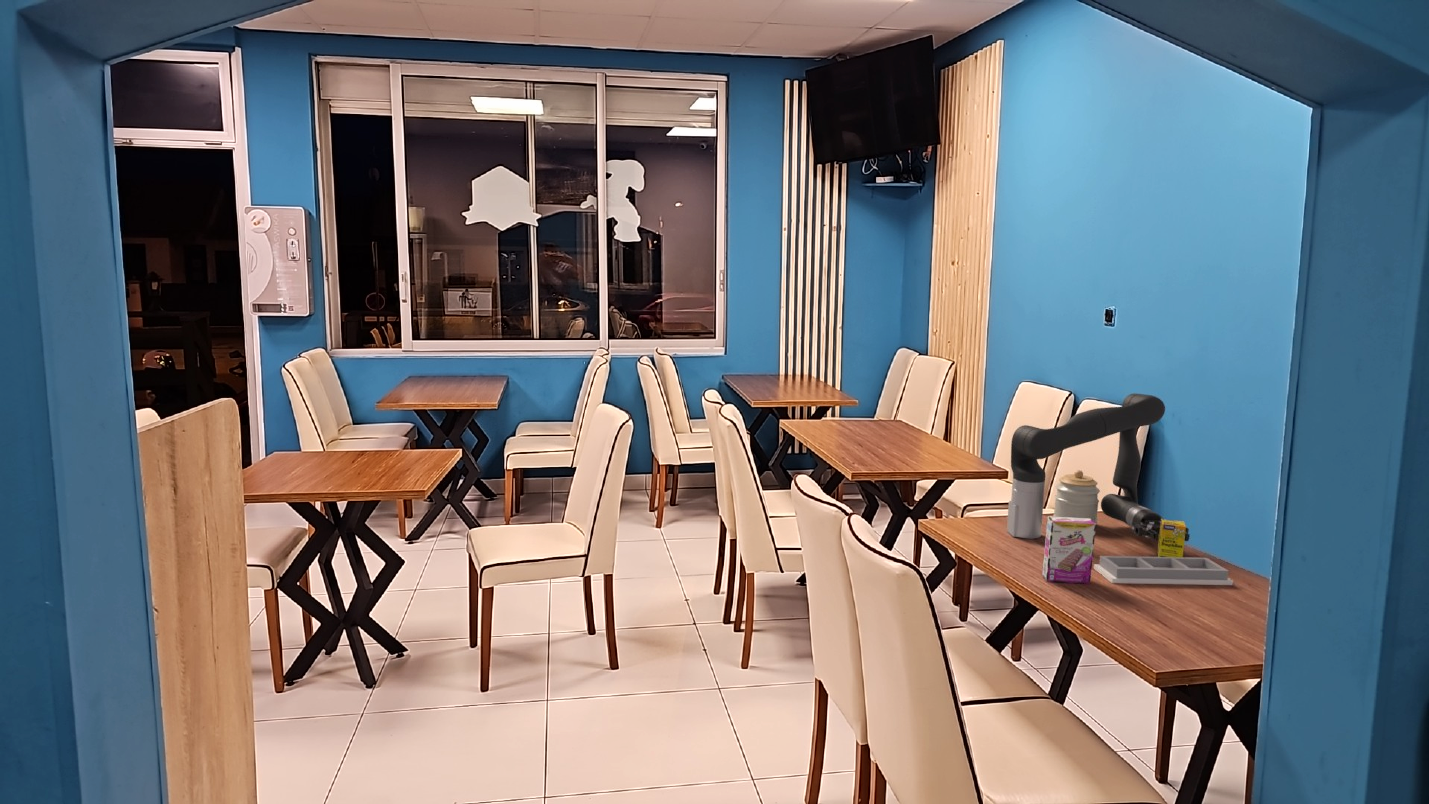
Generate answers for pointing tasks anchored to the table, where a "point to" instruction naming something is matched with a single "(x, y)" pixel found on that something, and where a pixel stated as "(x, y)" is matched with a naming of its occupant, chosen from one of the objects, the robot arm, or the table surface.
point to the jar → (1077, 497)
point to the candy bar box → (1068, 549)
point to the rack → (1162, 570)
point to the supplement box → (1171, 538)
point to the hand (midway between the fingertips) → (1172, 537)
